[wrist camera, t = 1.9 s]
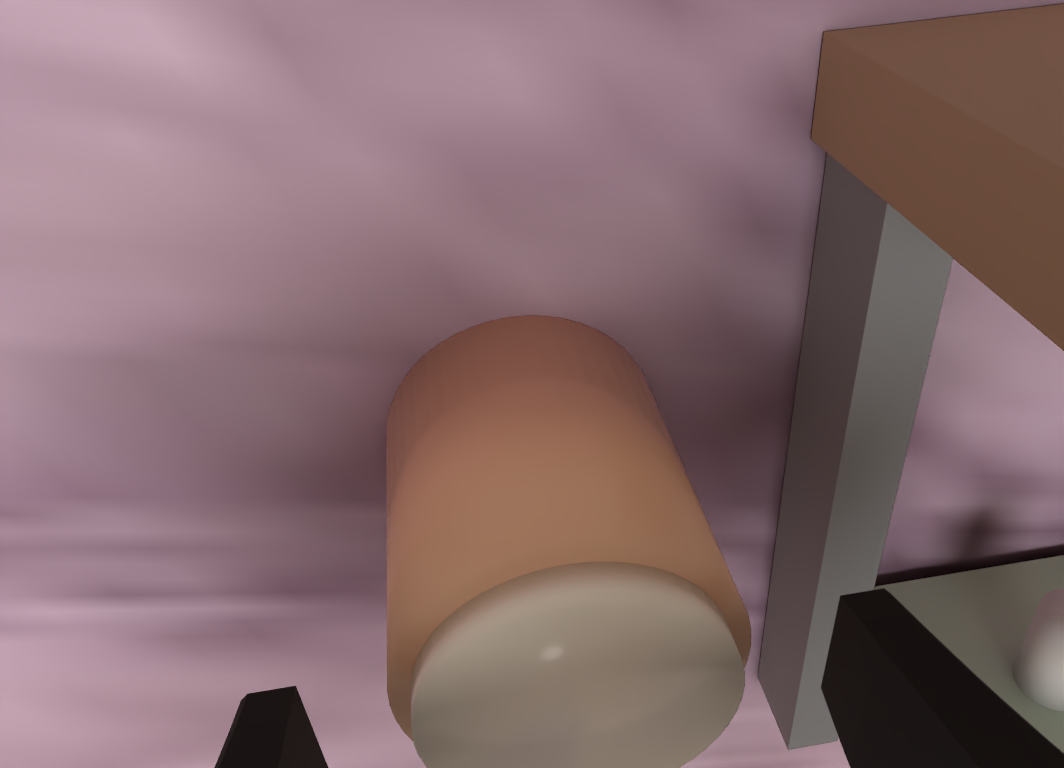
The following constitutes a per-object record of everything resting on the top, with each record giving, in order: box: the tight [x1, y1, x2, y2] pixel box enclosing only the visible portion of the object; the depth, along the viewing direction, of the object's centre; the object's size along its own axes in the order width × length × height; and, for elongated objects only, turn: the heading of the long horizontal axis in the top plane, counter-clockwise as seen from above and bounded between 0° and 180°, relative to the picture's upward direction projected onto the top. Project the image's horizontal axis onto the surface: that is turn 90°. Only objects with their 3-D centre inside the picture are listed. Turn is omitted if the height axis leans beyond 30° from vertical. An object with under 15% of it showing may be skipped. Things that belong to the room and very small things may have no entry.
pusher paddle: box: [874, 555, 1064, 753], centre depth 17 cm, size 3×6×6 cm, turn 94°
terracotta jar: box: [386, 315, 751, 768], centre depth 14 cm, size 5×5×6 cm
